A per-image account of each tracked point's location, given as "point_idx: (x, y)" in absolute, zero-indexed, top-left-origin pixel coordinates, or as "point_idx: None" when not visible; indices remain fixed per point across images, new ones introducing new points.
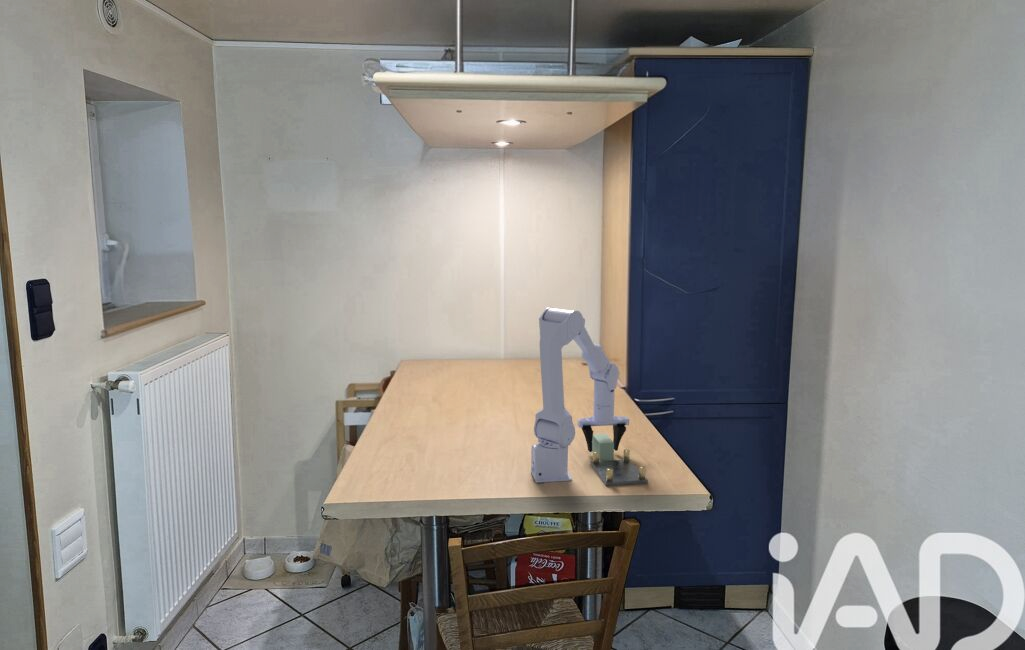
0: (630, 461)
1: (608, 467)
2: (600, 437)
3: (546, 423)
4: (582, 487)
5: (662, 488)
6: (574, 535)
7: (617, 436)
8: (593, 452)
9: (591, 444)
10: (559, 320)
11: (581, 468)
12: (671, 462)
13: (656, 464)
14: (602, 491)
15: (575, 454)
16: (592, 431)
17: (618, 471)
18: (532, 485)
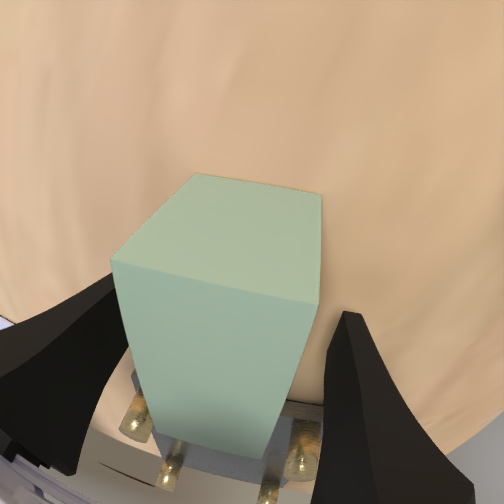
0: (320, 434)
1: None
2: (187, 373)
3: None
4: (110, 424)
5: (306, 486)
6: (106, 466)
7: (317, 475)
8: (120, 430)
9: (113, 361)
10: None
11: None
12: (488, 416)
13: (430, 424)
14: (155, 451)
15: (76, 203)
16: (69, 470)
17: (221, 454)
18: None
